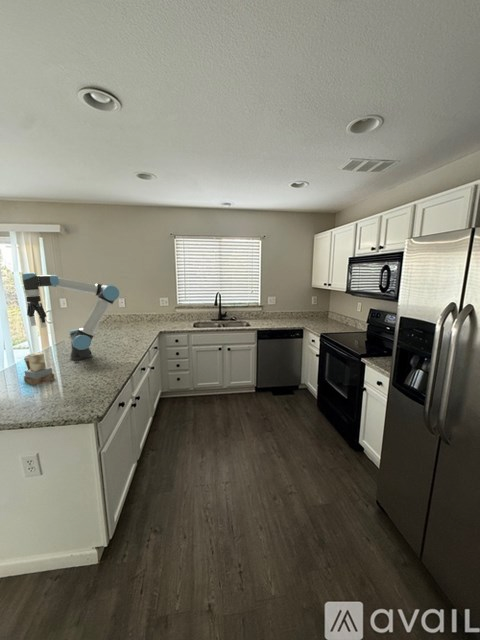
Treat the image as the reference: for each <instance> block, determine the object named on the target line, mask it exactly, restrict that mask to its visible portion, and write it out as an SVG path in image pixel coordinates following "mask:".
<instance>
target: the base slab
mask: <svg viewBox="0 0 480 640" xmlns="http://www.w3.org/2000/svg"><path fill="white" fill-rule="evenodd" d="M23 380H24V382H25V383H26V384H28V385H30V386H32V387H34V386H36V385H40V384H43V382H44V383H46V381H47V382H49V381H53V380H56V379H55V373H53V374H50V375H47V376H44V377H41V378H38V379H32V378H27V377H25V375H24V376H23Z"/></svg>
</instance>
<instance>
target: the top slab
mask: <svg viewBox="0 0 480 640" xmlns="http://www.w3.org/2000/svg"><path fill="white" fill-rule="evenodd" d="M50 374H54V373H53V369H52V367H51V366H50V367H49V366H46V369H43V370H39V371H32V370H30V369H29V370H28V369H27V370H24V376H25V377H27V378H32V379H38V378H41V377H44V376H47V375H50Z"/></svg>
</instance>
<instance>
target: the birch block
mask: <svg viewBox="0 0 480 640" xmlns="http://www.w3.org/2000/svg"><path fill="white" fill-rule="evenodd" d="M27 356H28V359H29V365H30V370H32V371H39V370H43V369H46V367H47V366H46V361H45V354H44V353H43V352H34V353H29V354H27Z"/></svg>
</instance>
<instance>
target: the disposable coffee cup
mask: <svg viewBox="0 0 480 640" xmlns="http://www.w3.org/2000/svg"><path fill="white" fill-rule="evenodd" d="M23 358H24V359H23V360H24V362H25V364H26V368H27V370H29V369H30V365H29V359H28V355H26V356H24V357H23Z"/></svg>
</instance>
